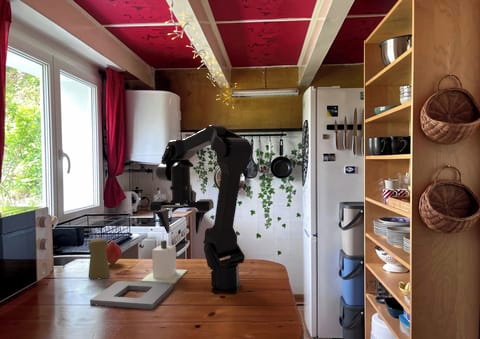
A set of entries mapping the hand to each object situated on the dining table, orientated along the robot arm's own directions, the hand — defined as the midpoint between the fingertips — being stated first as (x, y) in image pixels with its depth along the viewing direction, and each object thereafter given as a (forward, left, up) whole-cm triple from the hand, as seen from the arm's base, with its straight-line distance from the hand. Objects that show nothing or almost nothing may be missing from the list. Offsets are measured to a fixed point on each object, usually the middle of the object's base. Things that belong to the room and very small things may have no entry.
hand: (182, 233), depth 102 cm
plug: (+4, +6, -11) cm, 13 cm away
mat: (+4, +6, -11) cm, 13 cm away
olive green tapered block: (+24, +8, -12) cm, 27 cm away
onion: (+26, -2, -12) cm, 28 cm away
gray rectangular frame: (+6, +20, -11) cm, 24 cm away
